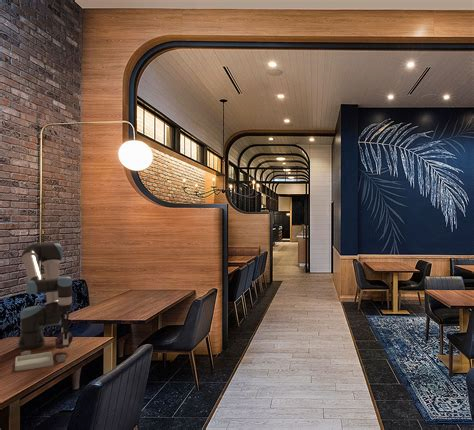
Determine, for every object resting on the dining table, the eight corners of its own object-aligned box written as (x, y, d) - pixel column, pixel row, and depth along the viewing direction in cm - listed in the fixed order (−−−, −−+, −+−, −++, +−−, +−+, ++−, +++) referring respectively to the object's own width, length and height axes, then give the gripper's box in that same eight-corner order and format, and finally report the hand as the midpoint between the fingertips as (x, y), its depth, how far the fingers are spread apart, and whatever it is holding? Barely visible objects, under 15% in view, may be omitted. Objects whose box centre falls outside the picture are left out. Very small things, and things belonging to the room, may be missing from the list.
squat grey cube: (56, 361, 224) (56, 355, 224) (62, 359, 226) (62, 354, 226) (59, 362, 221) (59, 357, 221) (65, 361, 223) (65, 355, 223)
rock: (52, 352, 231) (71, 350, 233) (51, 337, 231) (70, 334, 233) (58, 345, 242) (76, 343, 244) (57, 331, 242) (75, 329, 244)
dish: (15, 361, 224) (15, 356, 224) (51, 356, 232) (51, 351, 232) (15, 371, 208) (14, 366, 208) (53, 365, 216) (53, 360, 216)
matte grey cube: (24, 356, 234) (24, 350, 234) (30, 356, 233) (30, 350, 233) (20, 358, 230) (20, 352, 230) (27, 358, 229) (27, 352, 229)
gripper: (56, 300, 247) (56, 336, 247) (59, 308, 225) (59, 348, 225) (69, 299, 250) (69, 335, 250) (73, 307, 229) (73, 346, 229)
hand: (64, 341), depth 238 cm, fingers closed on rock, 12 cm apart
